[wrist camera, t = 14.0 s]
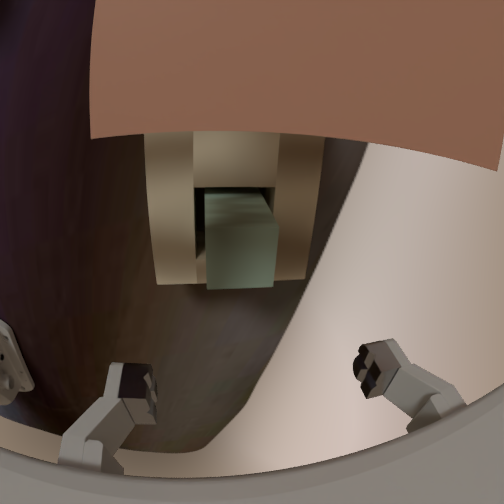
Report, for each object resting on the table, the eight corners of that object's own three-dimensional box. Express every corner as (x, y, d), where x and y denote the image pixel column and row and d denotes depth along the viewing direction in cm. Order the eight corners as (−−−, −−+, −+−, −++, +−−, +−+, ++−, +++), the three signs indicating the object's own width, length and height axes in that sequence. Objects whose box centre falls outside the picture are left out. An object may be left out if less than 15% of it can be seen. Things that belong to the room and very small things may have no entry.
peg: (252, 177, 25) (279, 226, 16) (249, 220, 27) (273, 286, 18) (204, 177, 24) (205, 228, 16) (204, 221, 26) (206, 289, 18)
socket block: (287, 244, 30) (304, 279, 25) (164, 247, 28) (157, 284, 23) (306, 37, 20) (333, 24, 15) (161, 30, 18) (148, 12, 13)
